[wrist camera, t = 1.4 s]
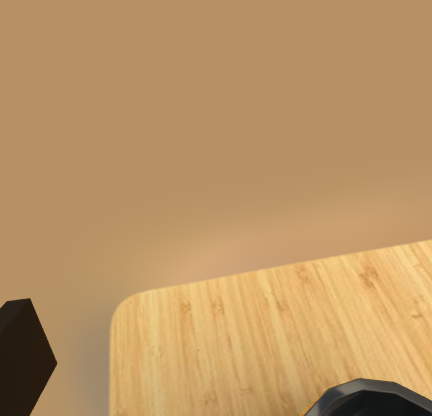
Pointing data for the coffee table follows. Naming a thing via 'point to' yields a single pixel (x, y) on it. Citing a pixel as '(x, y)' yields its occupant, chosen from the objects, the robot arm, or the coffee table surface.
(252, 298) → the coffee table surface
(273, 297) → the coffee table surface
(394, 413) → the cup
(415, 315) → the coffee table surface
